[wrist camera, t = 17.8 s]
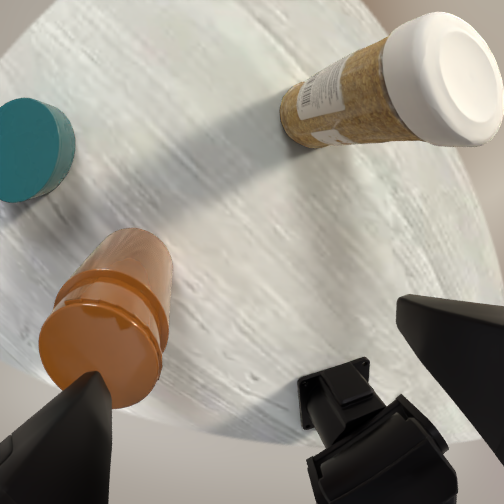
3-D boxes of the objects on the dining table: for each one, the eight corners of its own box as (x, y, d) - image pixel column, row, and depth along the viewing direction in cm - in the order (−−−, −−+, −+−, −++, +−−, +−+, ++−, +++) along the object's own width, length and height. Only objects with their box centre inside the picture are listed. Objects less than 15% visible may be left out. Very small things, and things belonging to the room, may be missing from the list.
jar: (180, 296, 21) (184, 405, 11) (108, 310, 20) (66, 419, 10) (162, 219, 20) (142, 281, 10) (85, 237, 19) (10, 307, 9)
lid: (-5, 119, 15) (-26, 116, 12) (70, 91, 16) (54, 82, 13) (7, 206, 17) (-14, 213, 14) (82, 184, 18) (66, 188, 15)
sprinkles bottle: (312, 162, 20) (476, 179, 8) (262, 112, 19) (390, 49, 6) (354, 117, 20) (521, 98, 7) (309, 68, 19) (454, -11, 6)
